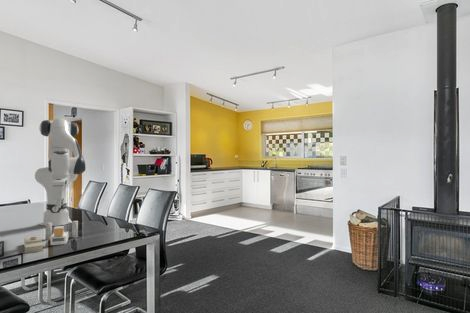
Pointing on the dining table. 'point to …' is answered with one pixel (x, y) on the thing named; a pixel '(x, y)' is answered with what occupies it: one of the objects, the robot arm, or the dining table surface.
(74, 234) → the post
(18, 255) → the dining table surface
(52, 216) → the robot arm
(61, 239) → the breaker block
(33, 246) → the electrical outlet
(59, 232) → the breaker toggle
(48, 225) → the post
